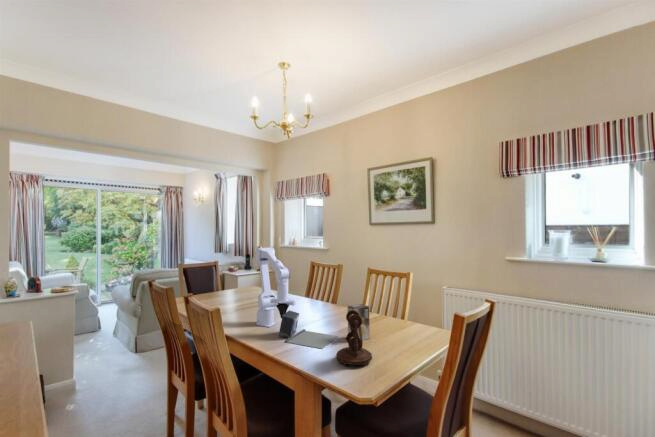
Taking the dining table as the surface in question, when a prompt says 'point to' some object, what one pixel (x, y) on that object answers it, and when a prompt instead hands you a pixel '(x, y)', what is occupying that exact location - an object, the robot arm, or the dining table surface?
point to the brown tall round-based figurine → (354, 343)
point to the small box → (288, 324)
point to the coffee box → (364, 315)
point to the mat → (311, 339)
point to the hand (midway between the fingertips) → (282, 317)
